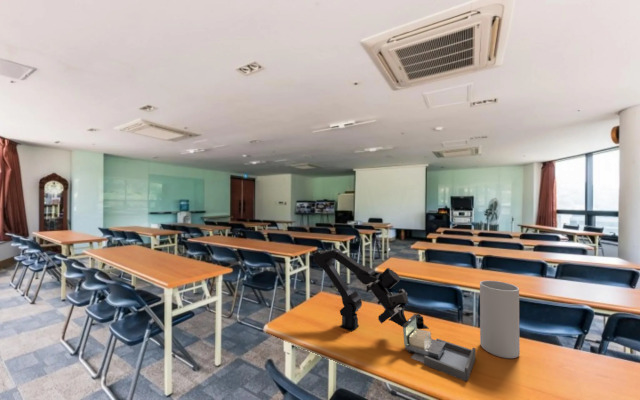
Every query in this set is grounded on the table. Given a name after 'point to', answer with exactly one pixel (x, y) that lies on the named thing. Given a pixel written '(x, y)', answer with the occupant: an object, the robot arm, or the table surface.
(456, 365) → the dock
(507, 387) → the table surface
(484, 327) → the cylinder vase
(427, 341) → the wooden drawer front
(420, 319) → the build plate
